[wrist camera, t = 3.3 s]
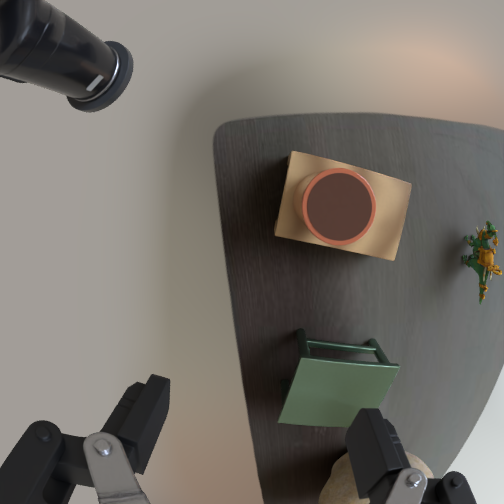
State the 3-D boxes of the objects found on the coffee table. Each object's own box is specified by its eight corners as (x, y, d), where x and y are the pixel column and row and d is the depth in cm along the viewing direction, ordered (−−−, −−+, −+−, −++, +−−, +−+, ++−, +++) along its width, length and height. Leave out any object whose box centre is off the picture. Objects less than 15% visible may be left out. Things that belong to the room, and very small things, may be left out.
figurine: (476, 216, 32) (511, 224, 24) (469, 292, 35) (499, 311, 27) (463, 216, 32) (498, 225, 25) (456, 294, 35) (486, 315, 27)
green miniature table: (276, 386, 40) (277, 422, 32) (295, 324, 37) (301, 357, 29) (354, 393, 40) (366, 427, 32) (380, 336, 37) (400, 367, 29)
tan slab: (273, 228, 35) (274, 235, 30) (288, 155, 32) (291, 150, 28) (378, 251, 34) (394, 261, 30) (394, 183, 32) (412, 183, 27)
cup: (287, 223, 29) (294, 237, 21) (298, 166, 28) (310, 159, 20) (342, 235, 29) (366, 252, 21) (354, 180, 28) (383, 179, 20)
